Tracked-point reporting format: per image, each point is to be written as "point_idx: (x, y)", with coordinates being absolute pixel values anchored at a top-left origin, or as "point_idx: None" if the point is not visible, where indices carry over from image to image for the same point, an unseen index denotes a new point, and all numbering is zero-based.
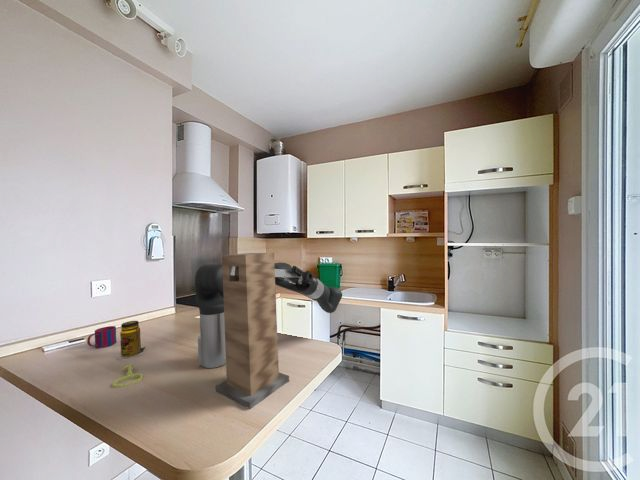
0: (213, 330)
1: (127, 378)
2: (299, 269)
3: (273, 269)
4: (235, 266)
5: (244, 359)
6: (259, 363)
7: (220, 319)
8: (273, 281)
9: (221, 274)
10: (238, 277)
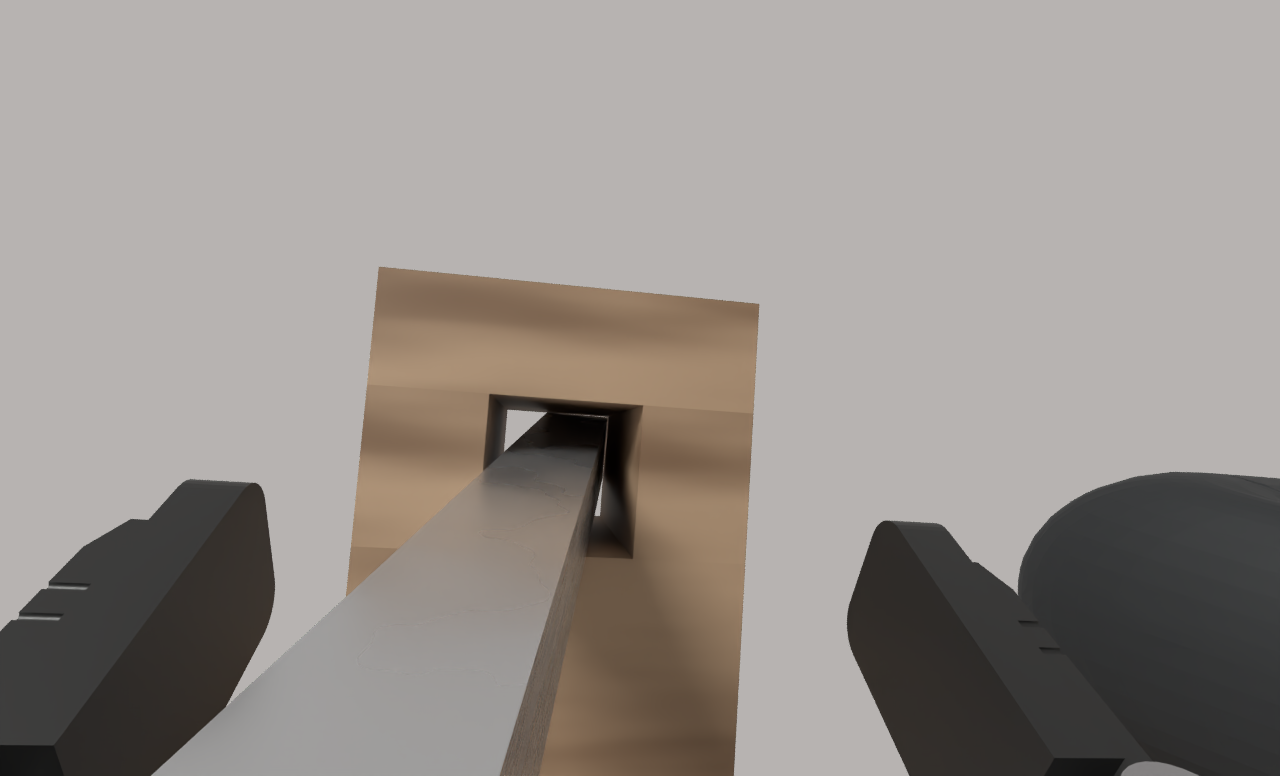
0: None
1: None
2: (24, 618)
3: (364, 454)
4: (546, 413)
5: None
6: None
7: None
8: (354, 588)
9: (1058, 557)
10: (607, 509)
